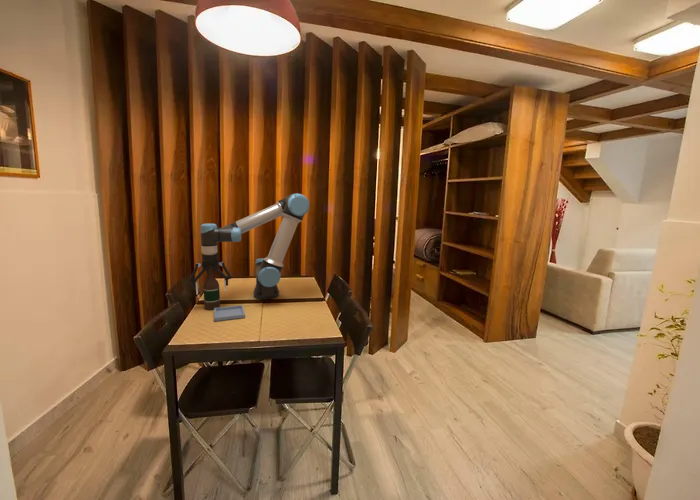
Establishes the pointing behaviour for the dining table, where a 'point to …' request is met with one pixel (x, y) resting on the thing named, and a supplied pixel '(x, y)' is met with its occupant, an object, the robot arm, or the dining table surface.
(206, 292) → the beer bottle
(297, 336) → the dining table surface
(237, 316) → the tray
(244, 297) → the dining table surface
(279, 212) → the robot arm
